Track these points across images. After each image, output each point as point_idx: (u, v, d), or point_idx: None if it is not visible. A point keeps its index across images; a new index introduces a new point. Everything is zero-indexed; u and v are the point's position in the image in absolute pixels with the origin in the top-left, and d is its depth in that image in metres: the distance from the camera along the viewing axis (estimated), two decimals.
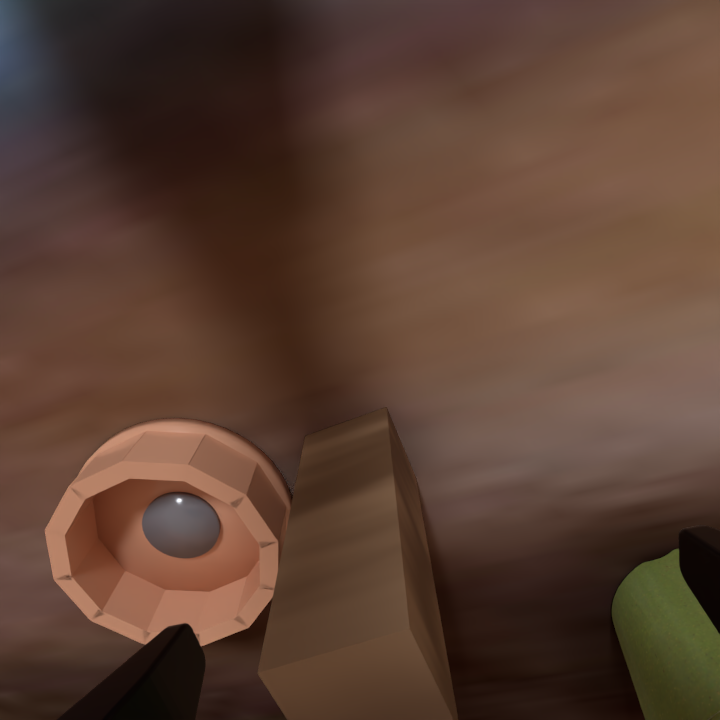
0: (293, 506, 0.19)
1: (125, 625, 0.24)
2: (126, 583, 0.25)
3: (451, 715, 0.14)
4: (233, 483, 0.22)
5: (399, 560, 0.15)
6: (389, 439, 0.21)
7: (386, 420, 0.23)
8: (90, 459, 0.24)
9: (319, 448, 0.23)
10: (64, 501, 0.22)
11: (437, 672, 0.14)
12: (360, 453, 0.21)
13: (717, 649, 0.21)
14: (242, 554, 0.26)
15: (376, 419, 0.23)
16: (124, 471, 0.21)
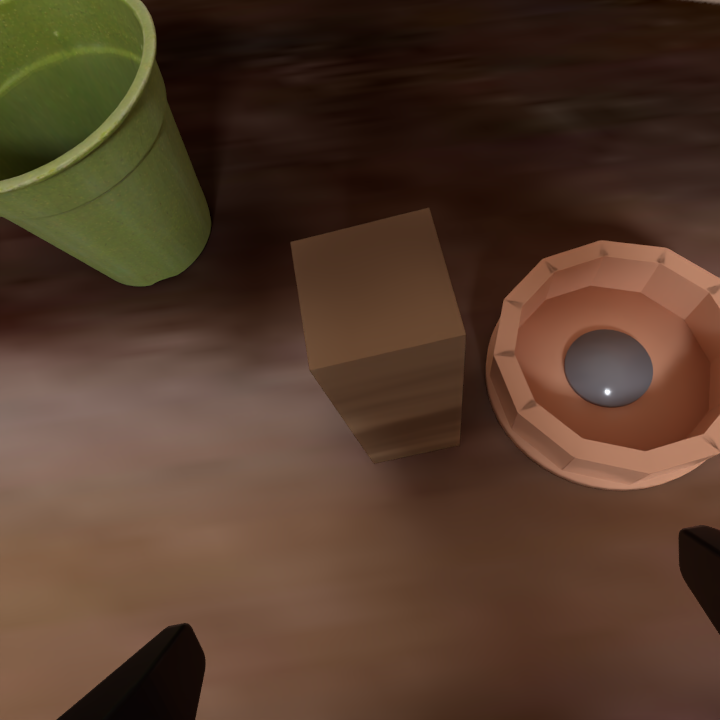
0: (458, 412, 0.19)
1: (684, 272, 0.22)
2: (682, 308, 0.23)
3: (294, 264, 0.15)
4: (530, 425, 0.21)
5: (332, 397, 0.15)
6: (364, 448, 0.22)
7: (371, 457, 0.23)
8: (702, 460, 0.21)
9: (440, 440, 0.22)
10: None
11: None
12: (393, 441, 0.21)
13: (112, 227, 0.24)
14: (545, 325, 0.25)
15: (381, 457, 0.23)
16: (649, 461, 0.19)
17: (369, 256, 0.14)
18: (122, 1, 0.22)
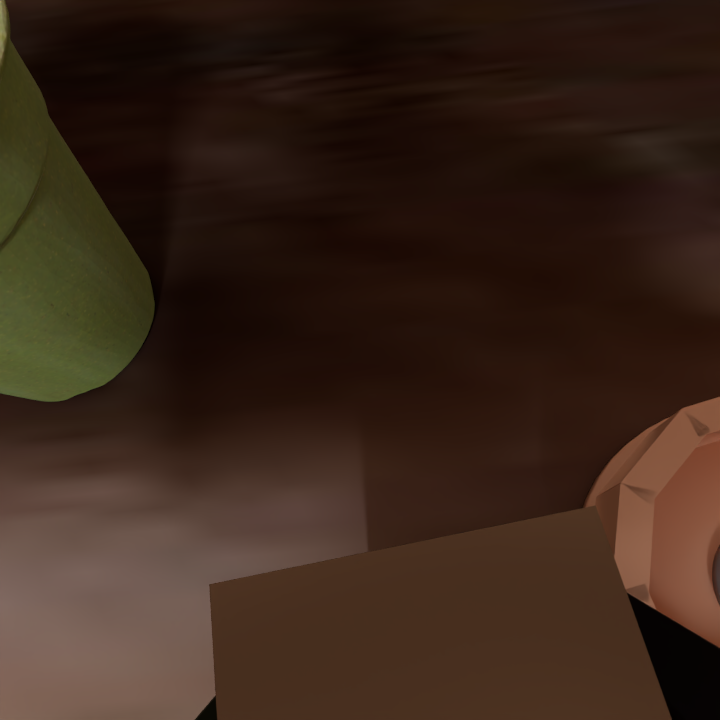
0: None
1: None
2: None
3: (216, 664, 0.05)
4: None
5: None
6: None
7: None
8: None
9: None
10: None
11: None
12: None
13: None
14: (674, 502, 0.15)
15: None
16: None
17: (432, 667, 0.05)
18: None
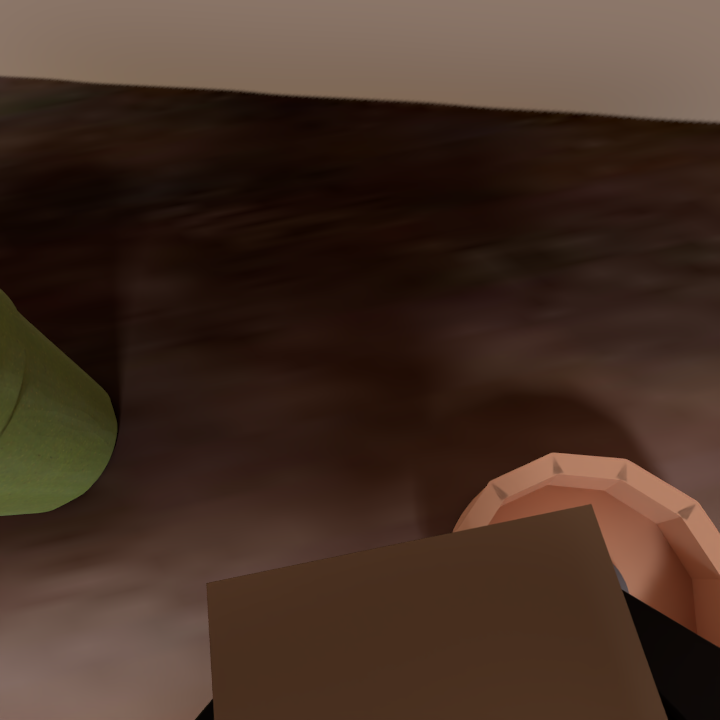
0: None
1: (649, 490, 0.19)
2: (653, 516, 0.20)
3: (213, 663, 0.05)
4: None
5: None
6: None
7: None
8: None
9: None
10: None
11: None
12: None
13: None
14: None
15: None
16: None
17: (427, 665, 0.05)
18: None
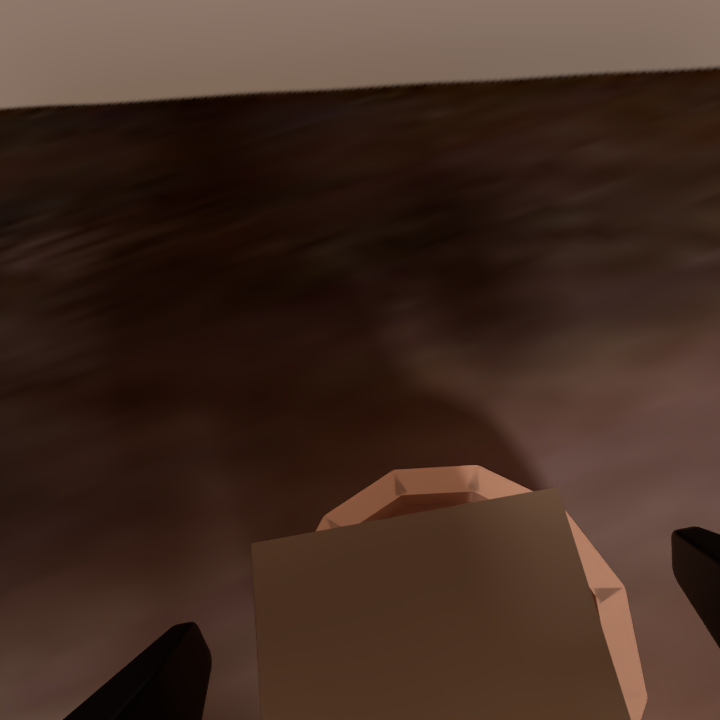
0: None
1: None
2: None
3: (256, 604, 0.07)
4: None
5: None
6: None
7: None
8: None
9: None
10: None
11: None
12: None
13: None
14: None
15: None
16: None
17: (425, 608, 0.06)
18: None
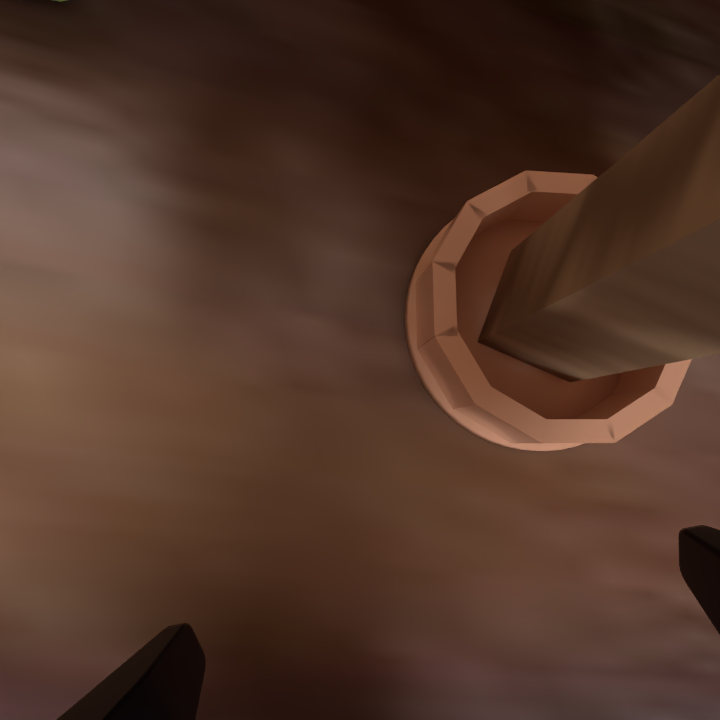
0: (662, 362, 0.15)
1: None
2: None
3: None
4: (441, 354, 0.18)
5: (646, 260, 0.11)
6: (508, 326, 0.17)
7: (490, 336, 0.19)
8: None
9: (574, 368, 0.19)
10: (630, 427, 0.18)
11: None
12: (547, 339, 0.17)
13: None
14: (494, 249, 0.21)
15: (497, 342, 0.19)
16: (546, 430, 0.18)
17: None
18: None
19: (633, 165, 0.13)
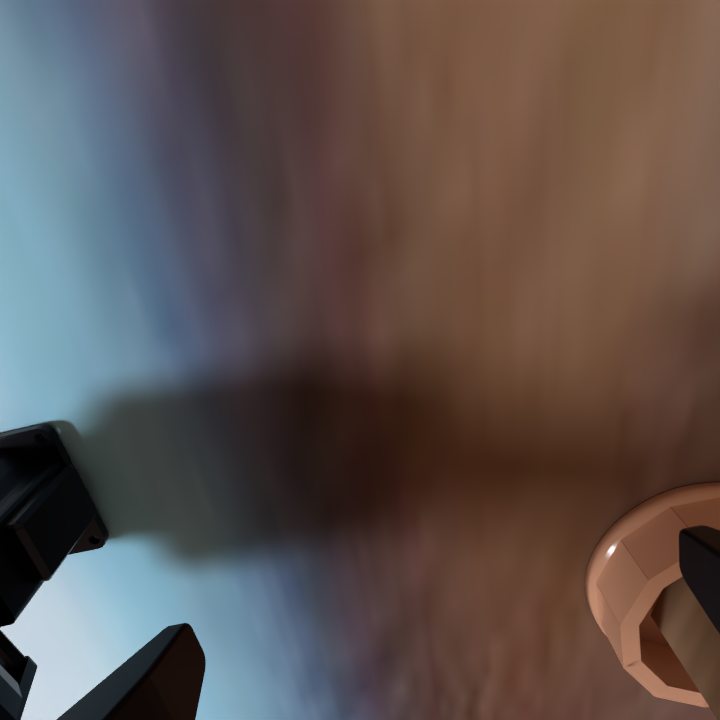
0: None
1: None
2: None
3: None
4: None
5: None
6: None
7: None
8: (602, 628, 0.26)
9: (676, 632, 0.24)
10: (635, 675, 0.24)
11: None
12: (715, 630, 0.22)
13: None
14: None
15: None
16: (630, 626, 0.23)
17: None
18: None
19: None
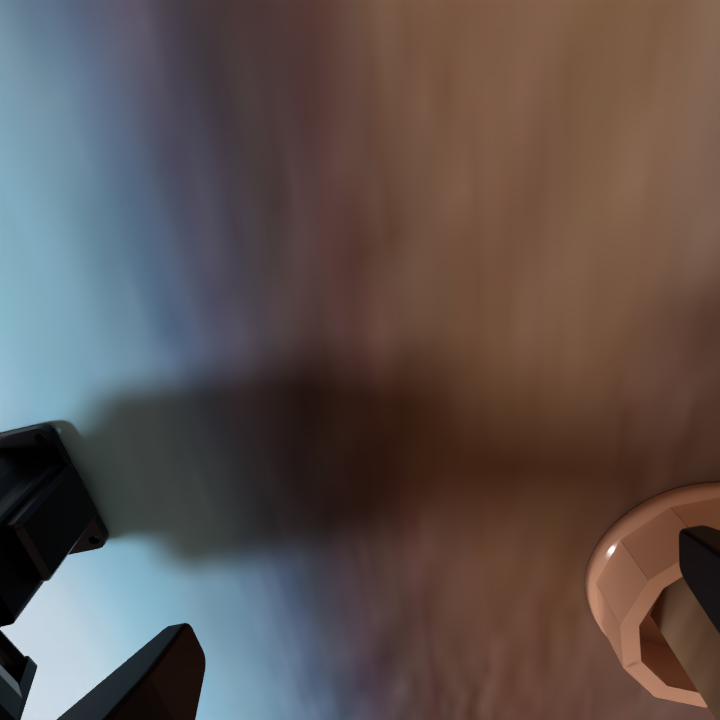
0: None
1: None
2: None
3: None
4: None
5: None
6: None
7: None
8: (602, 628, 0.26)
9: (676, 632, 0.24)
10: (635, 675, 0.24)
11: None
12: (715, 631, 0.22)
13: None
14: None
15: None
16: (630, 626, 0.23)
17: None
18: None
19: None
